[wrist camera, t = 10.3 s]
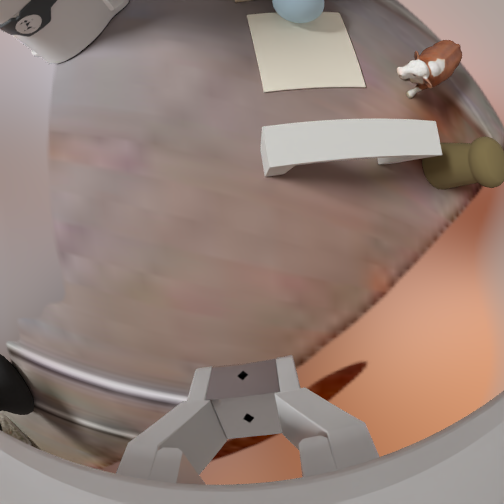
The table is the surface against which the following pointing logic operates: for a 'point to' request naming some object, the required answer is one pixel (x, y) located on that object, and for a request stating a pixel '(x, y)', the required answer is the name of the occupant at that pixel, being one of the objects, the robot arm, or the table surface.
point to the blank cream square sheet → (304, 52)
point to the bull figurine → (431, 66)
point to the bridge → (347, 142)
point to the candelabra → (13, 390)
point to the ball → (299, 9)
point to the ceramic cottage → (12, 429)
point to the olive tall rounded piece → (466, 164)
